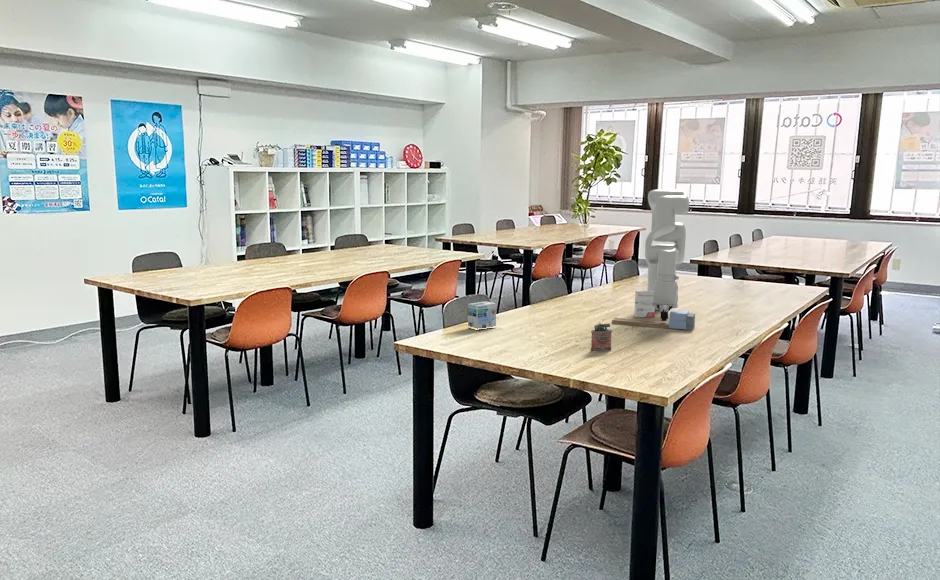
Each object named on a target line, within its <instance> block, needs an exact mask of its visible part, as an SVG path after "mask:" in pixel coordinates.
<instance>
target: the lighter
mask: <svg viewBox="0 0 940 580" xmlns="http://www.w3.org/2000/svg"><path fill="white" fill-rule="evenodd" d="M608 328H609V329H608ZM590 332H591V342H590V343H591V346H590V352H593V351H600V352H610V350H611V351H612V333H613V330H612V329H611V323H598V324H595V325H594V329H592V330H591V331H590Z"/></svg>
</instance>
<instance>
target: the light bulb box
mask: <svg viewBox="0 0 940 580" xmlns="http://www.w3.org/2000/svg"><path fill="white" fill-rule="evenodd" d="M468 326H470V327H474V328H477V329H478V328H486V327H493V326H496V327H497V303H496V302H492V301H488V300H487V301H486V300H485V301H480V302H479V301H478V302H472V303H468V304H467V327H468Z"/></svg>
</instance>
